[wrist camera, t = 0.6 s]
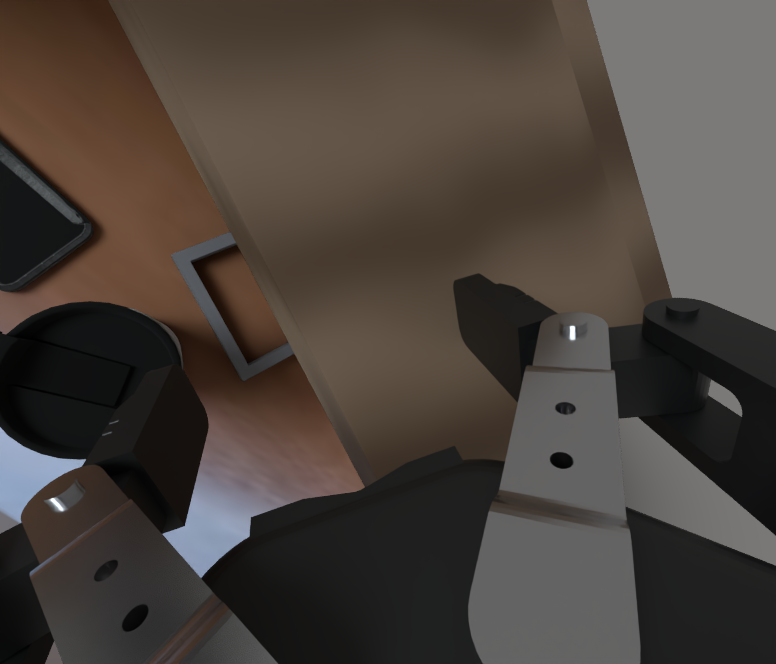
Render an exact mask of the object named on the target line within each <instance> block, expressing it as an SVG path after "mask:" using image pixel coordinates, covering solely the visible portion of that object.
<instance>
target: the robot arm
mask: <svg viewBox="0 0 776 664" xmlns="http://www.w3.org/2000/svg"><path fill="white" fill-rule="evenodd" d="M453 290H454V297H455V304H456V311H457V318H458V324H459V329H460V333H461V337H462V339H463V341H464V343H465V345H466V346H467V347H468V349H469V350H470V351H471V352H472V353H473V354H474V355H475V356H476V357H477V359H478V360H479V361H480V362H481V363H482V364H483V365H484V366H485V367H486V368H487V370H488V371H489V372H490V373H491V374H492V375H493V376H494V377H495V378H496V379H497V381H498V382H499V383H500V384H501V385H502V386H503V387H504V388H505V389H506V391H507V392H508V393H509V394H510V395H511V396H512V397H513V398H514V399H515V400H516V402H517V403H518V405H517V409H516V414H515V419H514V423H513V428H512V433H511V437H510V442H509V446H508V451H507V456H506V460H505V461H500V460H493V459H467V460H463V459H462V458H461V456H460V454H459V452H458V451H457V449H456V447H455V446H452V447H449V448H447V449H444V450H441V451H438V452H435V453H432V454H430V455H427V456H424V457H421V458H418V459H415V460H413V461H410V462H407V463H405V464H404V465H402V466H400V467H399V468H397V469H395V470H394V471H392V472H390V473H389V474H387V475H385V476H384V477H382V478H380V479H379V480H377V481H375V482H374V483H372V484H370V485H369V486H367V487H365V488H364V489H362V490H360V491H357V492H352V493H344V494H337V495H330V496H322V497H315V498H307V499H302V500H299V501H296V502H294V503H291V504H288V505H285V506H282V507H279V508H277V509H274V510H271V511H268V512H265V513H262V514H260V515H257V516H254V517H251V525H250V537H248V538H247V539H245V540H243V541H242V542H240V543H239V544H238V545H236V546H235V547H233V548H232V549H231V550H230V551H228V552H227V553H226V554H225V555H224V556H222V557H221V558H220V559H219V560H218V561H217V562H216V563H215V564H214V565H213V566H212V567H211V568H210V569H209V570H208V571H207V572H206V573H205V574H204V575H203V577H202V578H200V577H199V576H198V575H197V573H196V572H195V571H194V570H193V569H192V568H191V567H190V565H189V564H188V563H187V562H186V561H185V560H184V559H183V557H182V556H181V555H180V554H179V553H178V552H177V551H176V549H175V548H174V547H173V546H172V545H171V544H170V543H169V542H168V540H167V539H166V538H165V537H164V536H163V535H162V534H163V533H166V532H169V531H172V530H174V529H177V528H180V527H183V526H185V522H186V518H187V514H188V510H189V506H190V502H191V498H192V494H193V490H194V486H195V482H196V477H197V473H198V469H199V465H200V461H201V457H202V453H203V449H204V445H205V441H206V437H207V433H208V427H209V424H208V417H207V414H206V411H205V408H204V406H203V405H202V403H201V401H200V399H199V397H198V395H197V394H196V392H195V390H194V388H193V386H192V385H191V383H190V381H189V379H188V377H187V375H186V374H185V372H184V370H183V369H182V367H181V366H179V365H178V364H173V365H169V366H166V367H163V368H159V369H156V370H153V371H149V372H147V373H146V374H145V375H144V377H143V379H142V381H141V382H140V384H139V386H138V388H137V389H136V391H135V393H134V395H131V396H130V397H129V398H128V399H127V400H126V401H125V402H124V403H123V404H122V405H121V406H120V407H118V408H117V409H116V411H115V413H114V414H113V416H112V418H111V419H110V421H109V425H107V426H106V428H105V429H104V431H103V433H102V436H101V437H100V438H99V439H98V441H97V443H96V444H95V446H94V448H93V449H92V451H91V452H90V454H89V456H88V457H87V459H86V461H85V462H84V464H83V466H82V467H80V468H77V469H74V470H72V471H69V472H67V473H65V474H63V475H62V476H60V477H58V478H56V479H55V480H53V481H52V482H50V483H49V484H48V485H46V486H45V487H44V488H42V489H41V490H40V491H39V492H38V493H37V494H36V495H35V496H34V497H33V498H32V499H31V500H30V501H29V502H28V504H27V505H26V506H25V508H24V510H23V512H22V514H21V522H22V523H20V524H18V525H16V526H14V527H12V528H11V529H9V530H7V531H5V532H3V533H1V534H0V664H45V662H46V660H47V657H48V655H49V652H50V649H51V647H52V645H53V642H54V641H55V644H56V647H57V649H58V652H59V654H60V657H61V659H62V662H63V664H776V566H775V565H772V564H770V563H767V562H765V561H762V560H760V559H757V558H754V557H752V556H750V555H747V554H745V553H742V552H739V551H737V550H734V549H732V548H729V547H727V546H724V545H721V544H719V543H716V542H714V541H712V540H709V539H706V538H704V537H701V536H699V535H696V534H693V533H691V532H688V531H686V530H684V529H681V528H678V527H676V526H673V525H671V524H668V523H666V522H663V521H661V520H658V519H656V518H653V517H651V516H648V515H646V514H643V513H640V512H638V511H635V510H633V509H630V508H628V507H625V497H624V484H623V470H622V458H621V446H620V432H619V420H618V418H630V417H639V418H640V419H641V420H642V421H643V422H644V423H645V424H647V425H648V426H649V427H650V428H651V429H652V430H654V431H655V432H656V433H657V434H658V435H659V436H661V437H662V438H663V439H664V440H665V441H666V442H668V443H669V444H670V445H671V446H672V447H673V448H675V449H676V450H677V451H678V452H679V453H680V454H681V455H683V456H684V457H685V458H686V459H687V460H688V461H690V462H691V463H692V464H693V465H694V466H696V467H697V468H698V469H699V470H700V471H701V472H702V473H704V474H705V475H706V476H707V477H708V478H709V479H711V480H712V481H713V482H714V483H715V484H716V485H718V486H719V487H720V488H721V489H722V490H723V491H725V492H726V493H727V494H728V495H729V496H731V497H732V498H733V499H734V500H735V501H736V502H737V503H739V504H740V505H741V506H742V507H743V508H744V509H746V510H747V511H748V512H749V513H750V514H751V515H753V516H754V517H755V518H756V519H757V520H759V521H760V522H761V523H762V524H763V525H764V526H765V527H767V528H768V529H769V530H770V531H771V532H772V533H774V534H775V535H776V331H774V330H772V329H769V328H767V327H765V326H763V325H760V324H758V323H755V322H753V321H751V320H748V319H746V318H744V317H741V316H739V315H737V314H734V313H732V312H729V311H727V310H725V309H722V308H720V307H718V306H715V305H713V304H710V303H707V302H704V301H701V300H695V299H688V298H668V299H661V300H657V301H654V302H652V303H650V304H648V305H647V306H646V307H645V308H644V311H643V321H642V324H634V325H626V326H618V327H608V324H607V323H606V321H605V320H603V319H602V318H600V317H598V316H596V315H593V314H589V313H583V312H565V313H559V314H558V313H557V312H555V311H553V310H552V309H550V308H549V307H547V306H545V305H544V304H542V303H540V302H539V301H537V300H534V298H532V297H531V296H529V295H526V293H524V292H523V291H521V290H520V289H518V288H516V287H514V286H510V285H505V284H501V283H499V284H495V283H493V282H492V281H490V280H489V279H487V278H486V277H484V276H483V275H481V274H480V273H477V274H474V275H470V276H467V277H464V278H460V279H457V280H455V281H454V283H453ZM711 379H712V380H713V381H715V382H717V383H718V384H720V385H722V386H723V387H725V388H726V389H728V390H729V391H731V392H732V393H733V394H734V395H735V396H736V398H737V399H738V401H739V402H740V405H741V407H742V417H741V416H739V415H738V414H736V413H734V412H733V411H731V410H730V409H728V408H727V407H725V406H724V405H722V404H721V403H719V402H718V401H716V400H714V399H713V398H711V397H710V396H708V391H709V387H710V382H711Z"/></svg>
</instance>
